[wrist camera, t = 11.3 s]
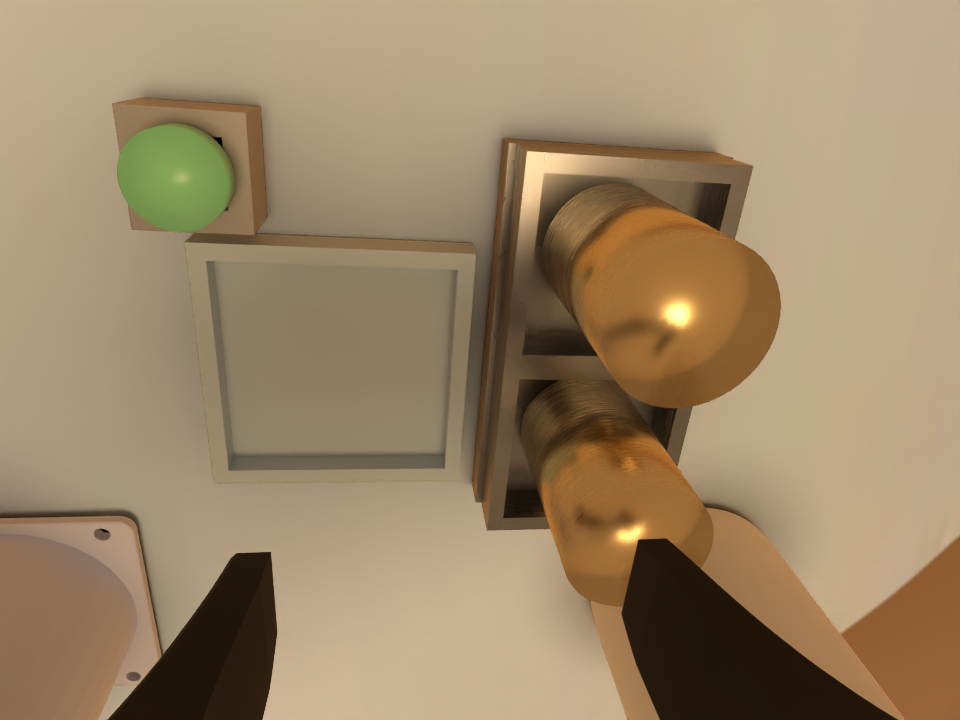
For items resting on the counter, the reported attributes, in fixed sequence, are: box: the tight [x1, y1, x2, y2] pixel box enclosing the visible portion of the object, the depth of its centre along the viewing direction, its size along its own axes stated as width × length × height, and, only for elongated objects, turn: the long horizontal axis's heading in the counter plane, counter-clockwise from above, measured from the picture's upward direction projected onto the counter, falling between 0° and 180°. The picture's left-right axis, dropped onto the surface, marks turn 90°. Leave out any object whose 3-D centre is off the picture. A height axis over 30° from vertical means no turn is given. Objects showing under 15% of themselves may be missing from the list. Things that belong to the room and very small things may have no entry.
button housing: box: [112, 98, 267, 235], centre depth 17 cm, size 3×3×2 cm
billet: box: [542, 183, 781, 408], centre depth 17 cm, size 4×4×6 cm
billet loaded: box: [520, 380, 714, 607], centre depth 19 cm, size 4×4×6 cm
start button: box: [117, 123, 235, 232], centre depth 16 cm, size 2×2×3 cm
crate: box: [472, 138, 753, 530], centre depth 20 cm, size 7×12×2 cm, turn 175°
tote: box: [185, 233, 476, 484], centre depth 20 cm, size 8×8×1 cm
